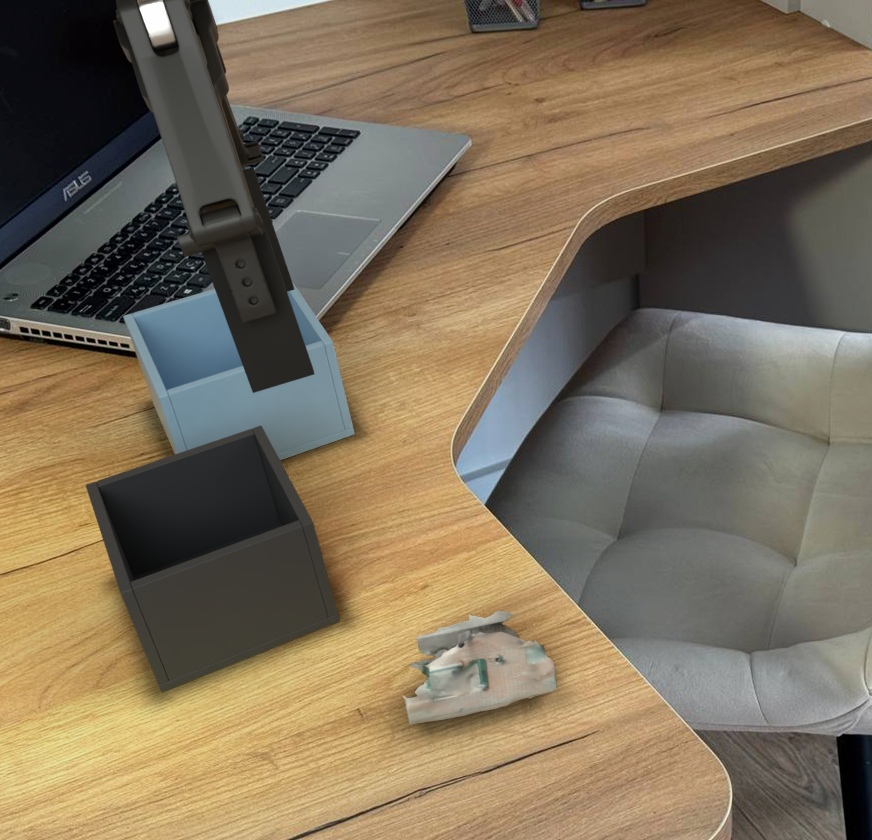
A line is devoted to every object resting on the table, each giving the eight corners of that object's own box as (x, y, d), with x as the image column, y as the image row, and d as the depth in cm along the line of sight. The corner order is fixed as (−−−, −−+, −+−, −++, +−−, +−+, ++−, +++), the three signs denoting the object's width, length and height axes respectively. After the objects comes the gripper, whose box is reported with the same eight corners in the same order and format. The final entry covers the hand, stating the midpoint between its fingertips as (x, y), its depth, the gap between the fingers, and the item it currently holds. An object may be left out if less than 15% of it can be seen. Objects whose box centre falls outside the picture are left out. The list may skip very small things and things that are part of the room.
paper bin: (191, 492, 85) (158, 397, 80) (154, 405, 93) (122, 315, 88) (355, 434, 89) (333, 341, 84) (306, 356, 97) (283, 267, 92)
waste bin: (161, 693, 71) (120, 593, 67) (124, 581, 79) (85, 484, 74) (340, 621, 75) (313, 521, 70) (289, 521, 82) (261, 424, 78)
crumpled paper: (561, 700, 69) (549, 606, 65) (411, 738, 68) (388, 645, 64) (544, 643, 73) (531, 551, 68) (400, 678, 71) (378, 586, 67)
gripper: (201, -171, 43) (383, 399, 52) (201, -150, 65) (329, 248, 74) (-32, -119, 42) (196, 458, 51) (48, -115, 64) (197, 286, 73)
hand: (275, 334), depth 63 cm, fingers open, 13 cm apart
